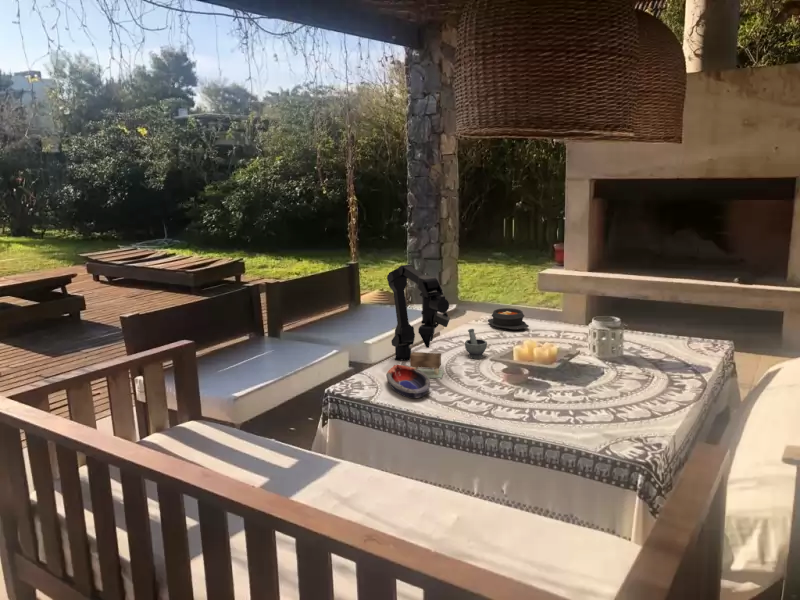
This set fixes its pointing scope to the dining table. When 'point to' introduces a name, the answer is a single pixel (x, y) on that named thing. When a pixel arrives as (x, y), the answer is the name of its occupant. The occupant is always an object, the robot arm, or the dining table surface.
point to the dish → (408, 381)
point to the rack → (432, 372)
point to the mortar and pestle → (475, 346)
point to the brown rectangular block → (425, 360)
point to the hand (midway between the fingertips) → (429, 344)
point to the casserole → (508, 319)
